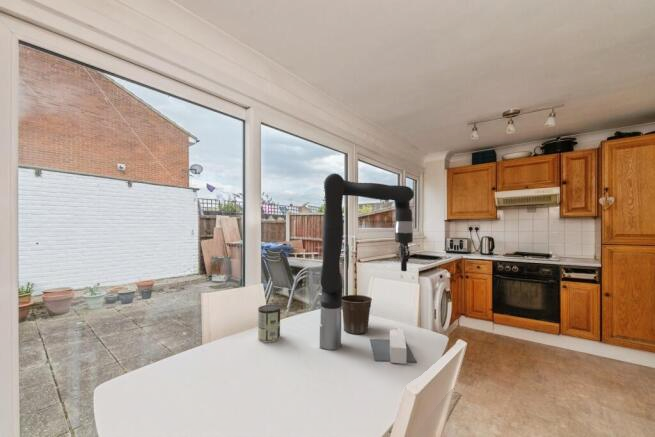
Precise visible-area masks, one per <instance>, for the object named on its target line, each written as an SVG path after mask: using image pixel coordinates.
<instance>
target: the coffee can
mask: <svg viewBox="0 0 655 437" xmlns="http://www.w3.org/2000/svg"><path fill="white" fill-rule="evenodd" d="M257 312H258V314H257V315H258V319H257V321H258V322H257V323H258V324H257V326H258V327H257V328H258V329H257V340H258V341H259V342H263V343H272V342H276V341H279V340H280V339H281V306H280V305H277V304H265V305H261V306H258V308H257Z"/></svg>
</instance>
